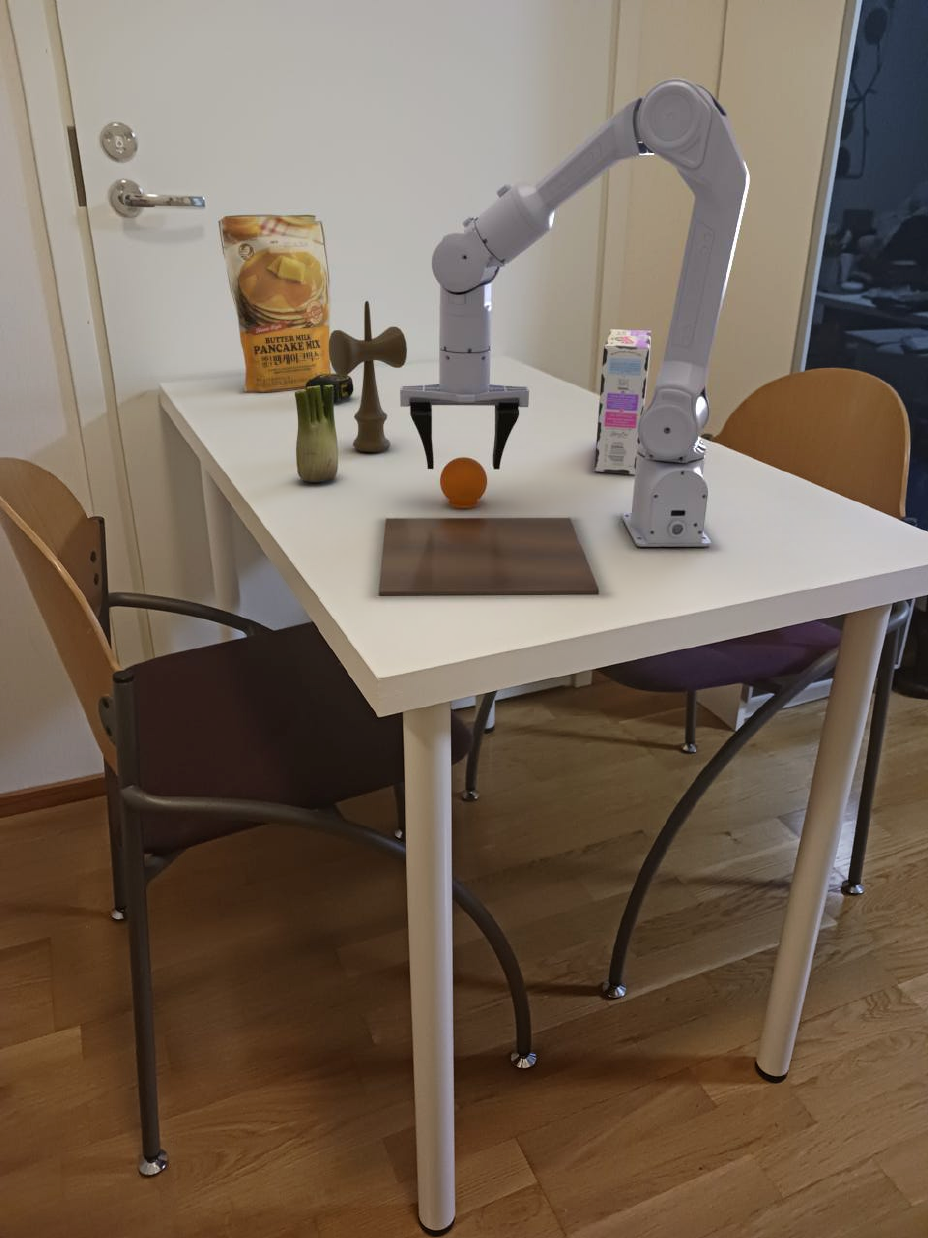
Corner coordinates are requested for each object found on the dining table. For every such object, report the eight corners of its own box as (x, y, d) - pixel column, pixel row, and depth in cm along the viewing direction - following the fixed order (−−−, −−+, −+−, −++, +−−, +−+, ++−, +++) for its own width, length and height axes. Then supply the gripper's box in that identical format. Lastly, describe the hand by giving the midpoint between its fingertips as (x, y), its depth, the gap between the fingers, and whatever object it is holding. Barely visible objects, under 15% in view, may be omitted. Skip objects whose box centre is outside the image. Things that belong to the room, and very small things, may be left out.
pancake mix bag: (228, 388, 168) (211, 214, 156) (329, 377, 177) (321, 211, 165) (240, 396, 163) (224, 216, 151) (344, 384, 172) (337, 214, 159)
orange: (488, 511, 113) (489, 465, 110) (440, 511, 113) (440, 465, 110) (485, 496, 118) (486, 451, 115) (439, 496, 118) (439, 451, 115)
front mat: (598, 593, 92) (599, 590, 92) (379, 595, 91) (378, 591, 91) (570, 521, 110) (570, 517, 110) (386, 521, 109) (386, 518, 109)
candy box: (638, 476, 126) (650, 346, 118) (593, 473, 127) (602, 344, 119) (642, 447, 138) (653, 328, 130) (600, 444, 139) (609, 326, 132)
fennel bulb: (336, 472, 126) (331, 379, 120) (346, 483, 121) (342, 388, 116) (292, 477, 124) (285, 383, 118) (300, 488, 120) (294, 391, 114)
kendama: (331, 449, 135) (323, 300, 126) (391, 439, 140) (387, 295, 131) (350, 459, 131) (344, 306, 122) (412, 449, 135) (410, 300, 127)
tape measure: (304, 400, 161) (302, 377, 159) (332, 392, 166) (331, 370, 164) (334, 406, 157) (333, 383, 156) (362, 398, 162) (361, 376, 161)
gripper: (398, 354, 103) (400, 477, 109) (533, 355, 104) (528, 477, 110) (400, 342, 110) (401, 458, 116) (527, 343, 110) (522, 459, 116)
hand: (463, 466), depth 113 cm, fingers open, 7 cm apart
